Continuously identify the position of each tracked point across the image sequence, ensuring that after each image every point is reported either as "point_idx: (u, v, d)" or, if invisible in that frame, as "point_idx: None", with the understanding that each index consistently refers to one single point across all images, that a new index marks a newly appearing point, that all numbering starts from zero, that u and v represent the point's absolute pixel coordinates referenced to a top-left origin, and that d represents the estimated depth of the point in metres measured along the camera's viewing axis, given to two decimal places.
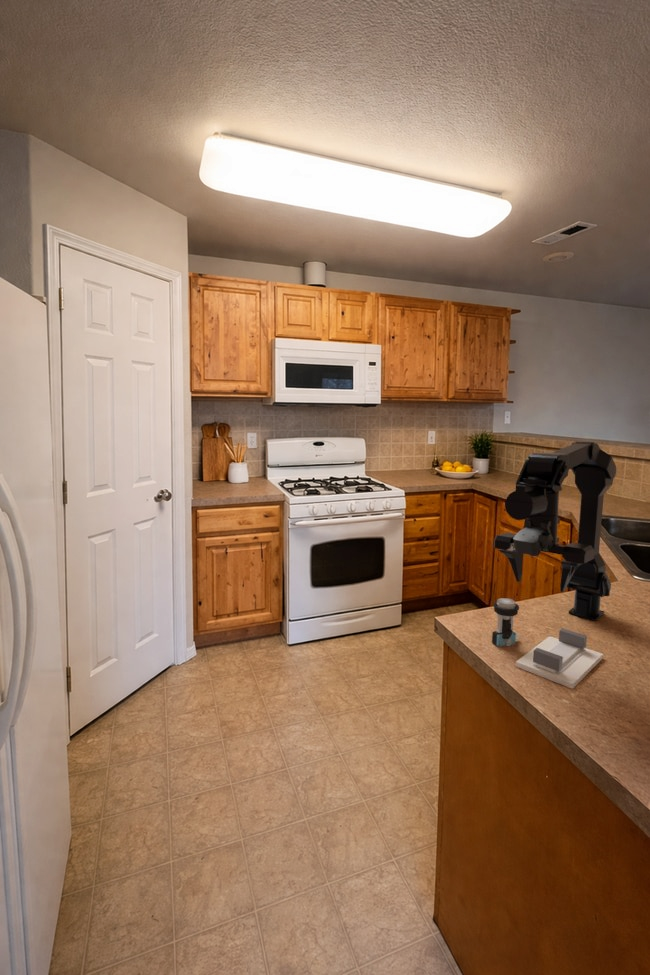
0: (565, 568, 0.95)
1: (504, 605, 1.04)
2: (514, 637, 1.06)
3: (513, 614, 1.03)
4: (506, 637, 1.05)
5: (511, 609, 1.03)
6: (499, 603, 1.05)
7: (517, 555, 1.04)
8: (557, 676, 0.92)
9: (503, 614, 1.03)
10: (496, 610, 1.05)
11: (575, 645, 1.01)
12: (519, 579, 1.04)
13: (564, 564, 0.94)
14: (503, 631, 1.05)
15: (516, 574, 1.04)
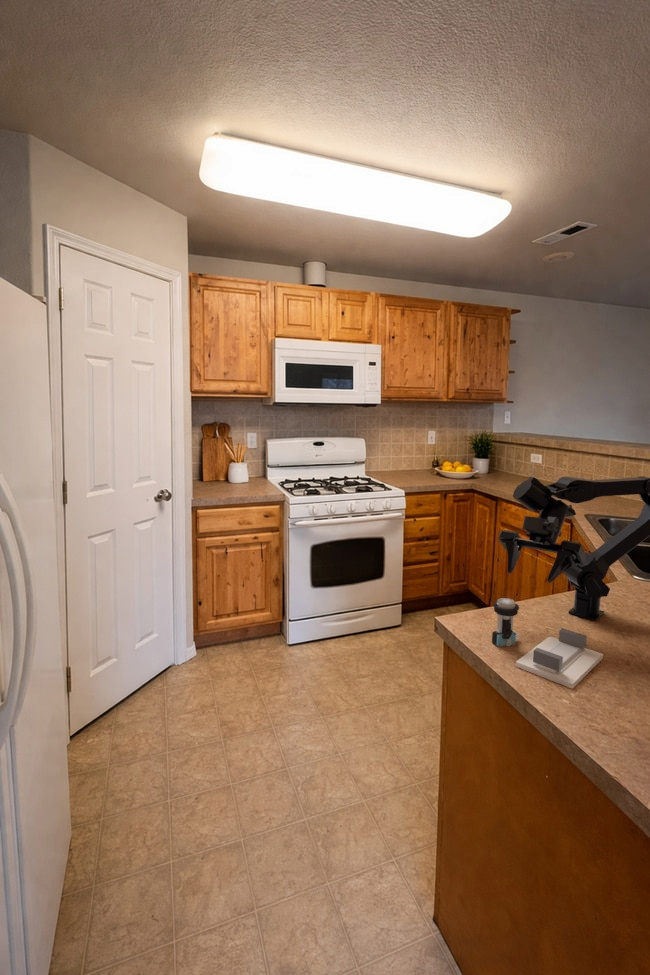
0: (559, 558, 1.07)
1: (504, 605, 1.04)
2: (514, 637, 1.06)
3: (513, 614, 1.03)
4: (506, 637, 1.05)
5: (511, 609, 1.03)
6: (499, 603, 1.05)
7: (515, 551, 1.16)
8: (557, 676, 0.92)
9: (503, 614, 1.04)
10: (496, 610, 1.05)
11: (575, 645, 1.01)
12: (510, 570, 1.14)
13: (560, 552, 1.07)
14: (503, 631, 1.05)
15: (509, 564, 1.14)
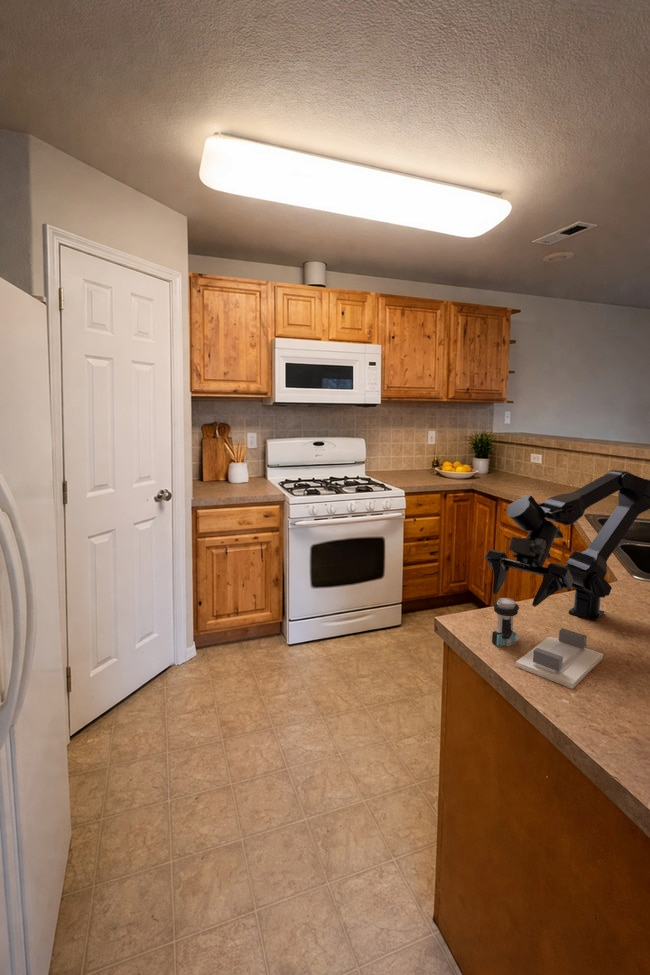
0: (545, 581, 1.04)
1: (504, 605, 1.04)
2: (514, 637, 1.06)
3: (513, 614, 1.03)
4: (506, 637, 1.05)
5: (511, 609, 1.03)
6: (499, 603, 1.05)
7: (502, 572, 1.13)
8: (557, 676, 0.92)
9: (503, 614, 1.04)
10: (496, 610, 1.05)
11: (575, 645, 1.01)
12: (495, 592, 1.11)
13: (546, 575, 1.04)
14: (503, 631, 1.05)
15: (495, 585, 1.11)
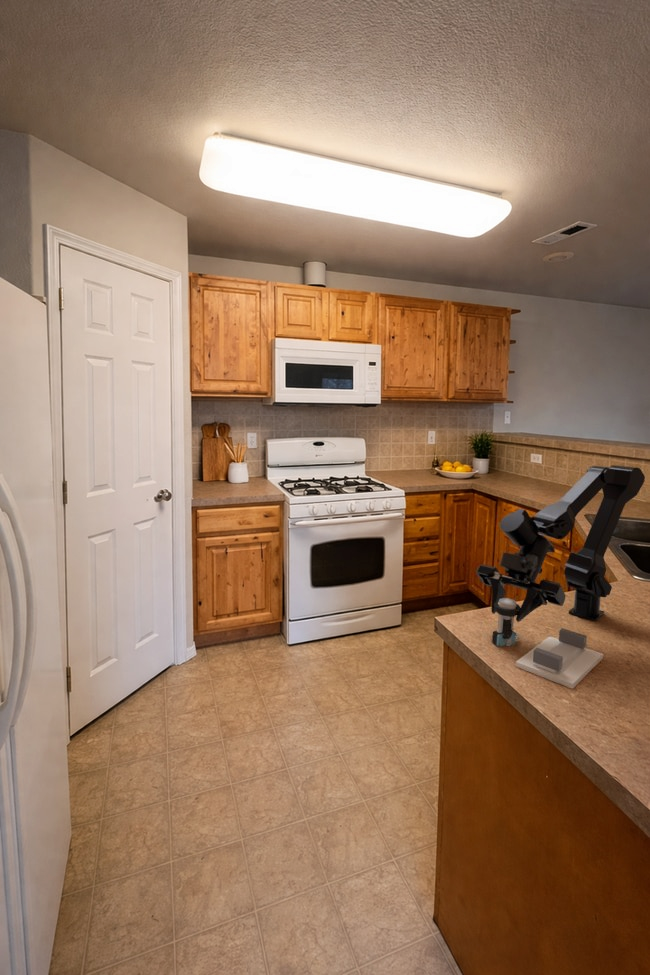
0: (528, 596, 1.03)
1: (505, 605, 1.03)
2: (514, 637, 1.06)
3: (514, 614, 1.03)
4: (506, 637, 1.05)
5: (512, 609, 1.03)
6: (500, 603, 1.04)
7: (500, 590, 1.09)
8: (557, 676, 0.92)
9: (504, 614, 1.03)
10: (497, 610, 1.05)
11: (575, 645, 1.01)
12: (494, 610, 1.07)
13: (529, 590, 1.03)
14: (503, 631, 1.05)
15: None
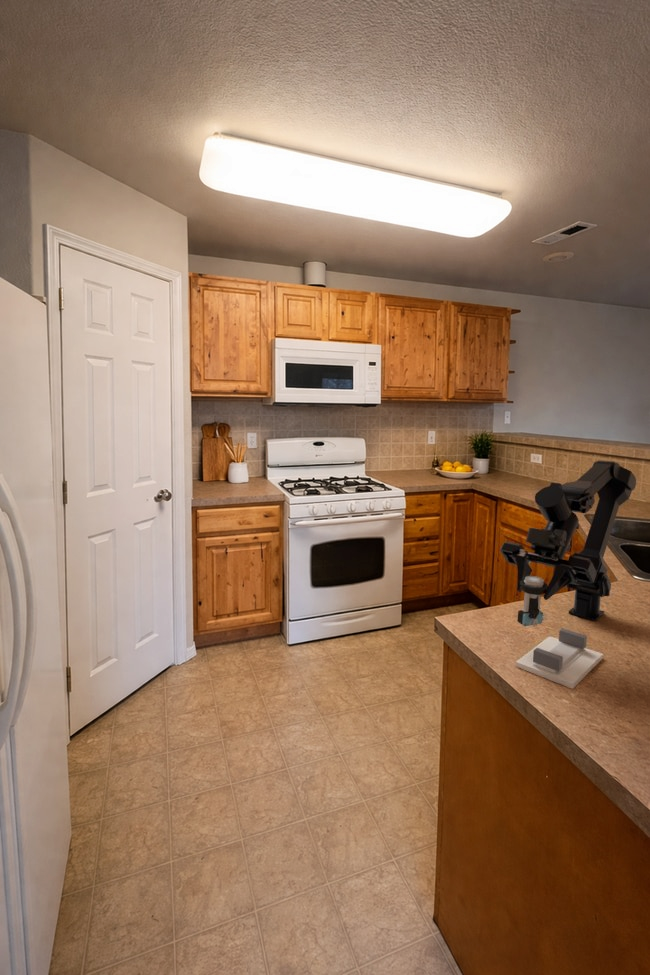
0: (557, 573, 0.98)
1: (532, 583, 0.99)
2: (541, 617, 1.01)
3: (541, 593, 0.98)
4: (533, 616, 1.00)
5: (539, 587, 0.98)
6: (526, 581, 1.00)
7: (526, 567, 1.04)
8: (557, 676, 0.92)
9: (531, 592, 0.98)
10: (523, 588, 1.00)
11: (575, 645, 1.01)
12: (520, 589, 1.02)
13: (558, 567, 0.98)
14: (530, 610, 1.00)
15: (519, 582, 1.02)
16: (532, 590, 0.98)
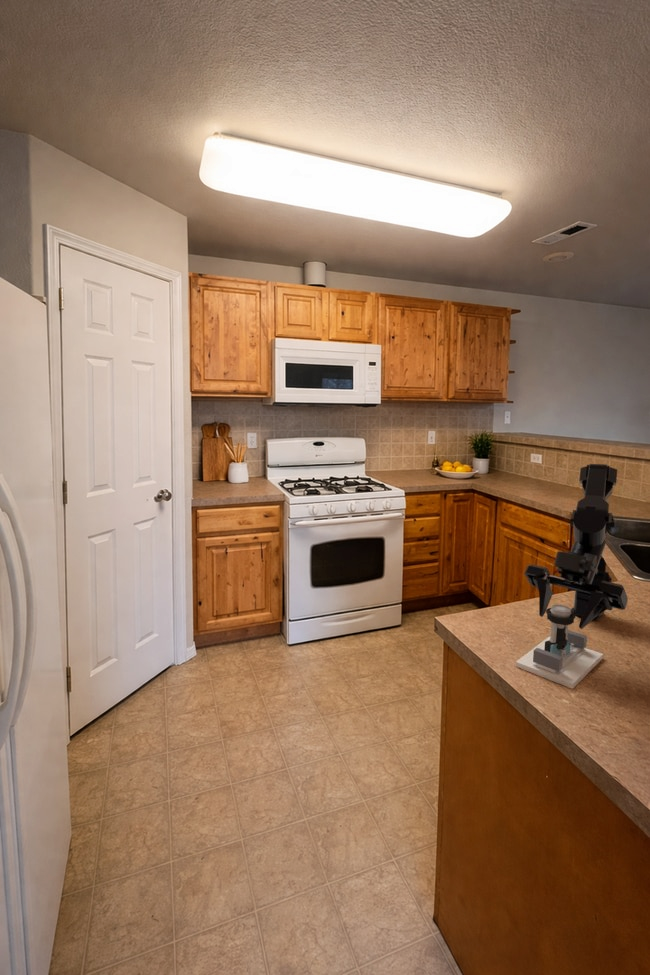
0: (592, 601, 0.94)
1: (559, 613, 0.95)
2: (569, 647, 0.98)
3: (569, 623, 0.95)
4: (561, 647, 0.97)
5: (567, 617, 0.95)
6: (553, 610, 0.96)
7: (548, 591, 1.01)
8: (557, 676, 0.92)
9: (558, 623, 0.95)
10: (550, 618, 0.96)
11: (575, 645, 1.01)
12: (542, 613, 0.99)
13: (594, 594, 0.93)
14: (557, 641, 0.97)
15: (541, 606, 0.99)
16: (560, 620, 0.95)
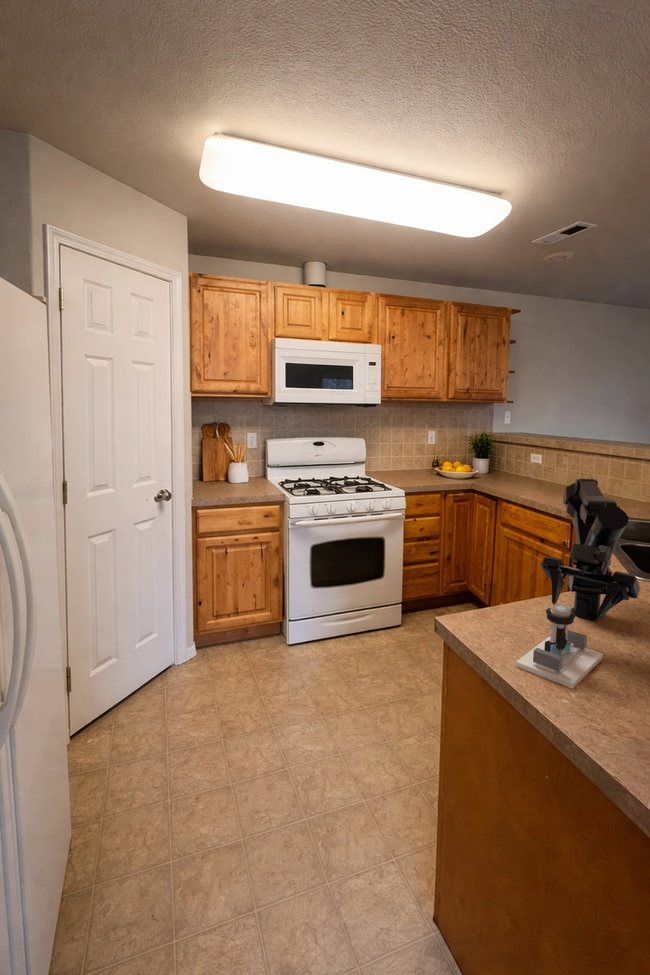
0: (610, 591, 0.99)
1: (559, 613, 0.95)
2: (569, 647, 0.98)
3: (569, 622, 0.95)
4: (561, 647, 0.97)
5: (567, 617, 0.95)
6: (553, 610, 0.96)
7: (560, 580, 1.07)
8: (557, 676, 0.92)
9: (558, 622, 0.95)
10: (550, 618, 0.96)
11: (575, 645, 1.01)
12: (554, 601, 1.05)
13: (612, 584, 0.98)
14: (557, 641, 0.97)
15: (554, 594, 1.05)
16: (560, 620, 0.95)
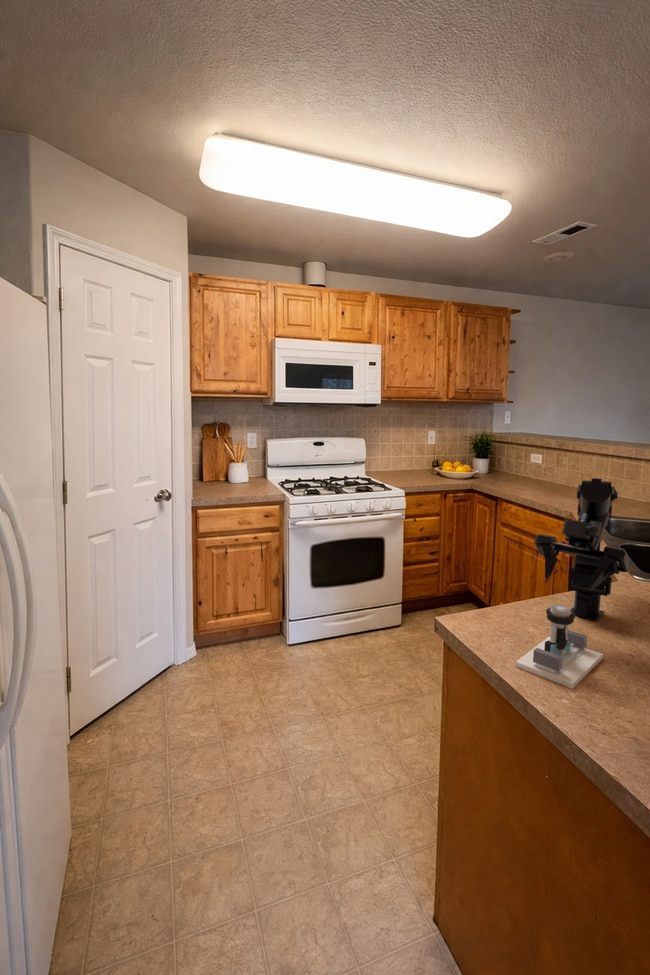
0: (601, 565, 1.02)
1: (559, 613, 0.95)
2: (569, 647, 0.98)
3: (569, 622, 0.95)
4: (561, 647, 0.97)
5: (567, 617, 0.95)
6: (553, 610, 0.96)
7: (553, 556, 1.11)
8: (557, 676, 0.92)
9: (558, 622, 0.95)
10: (550, 618, 0.96)
11: (575, 645, 1.01)
12: (547, 576, 1.08)
13: (603, 558, 1.01)
14: (557, 641, 0.97)
15: (547, 570, 1.09)
16: (560, 620, 0.95)
